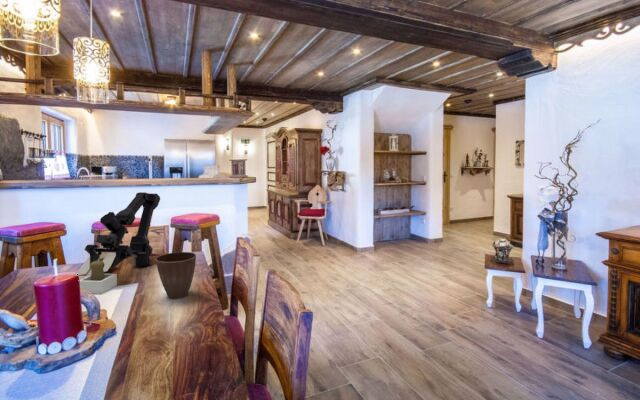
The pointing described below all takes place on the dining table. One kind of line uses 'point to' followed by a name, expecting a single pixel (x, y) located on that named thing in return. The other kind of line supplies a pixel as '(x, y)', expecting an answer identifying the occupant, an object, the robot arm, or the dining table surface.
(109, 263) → the grey slanted panel stand
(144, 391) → the dining table surface
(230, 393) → the dining table surface
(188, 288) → the plant pot
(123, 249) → the robot arm
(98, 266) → the cork
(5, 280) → the dining table surface
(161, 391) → the dining table surface
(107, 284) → the grey open box
